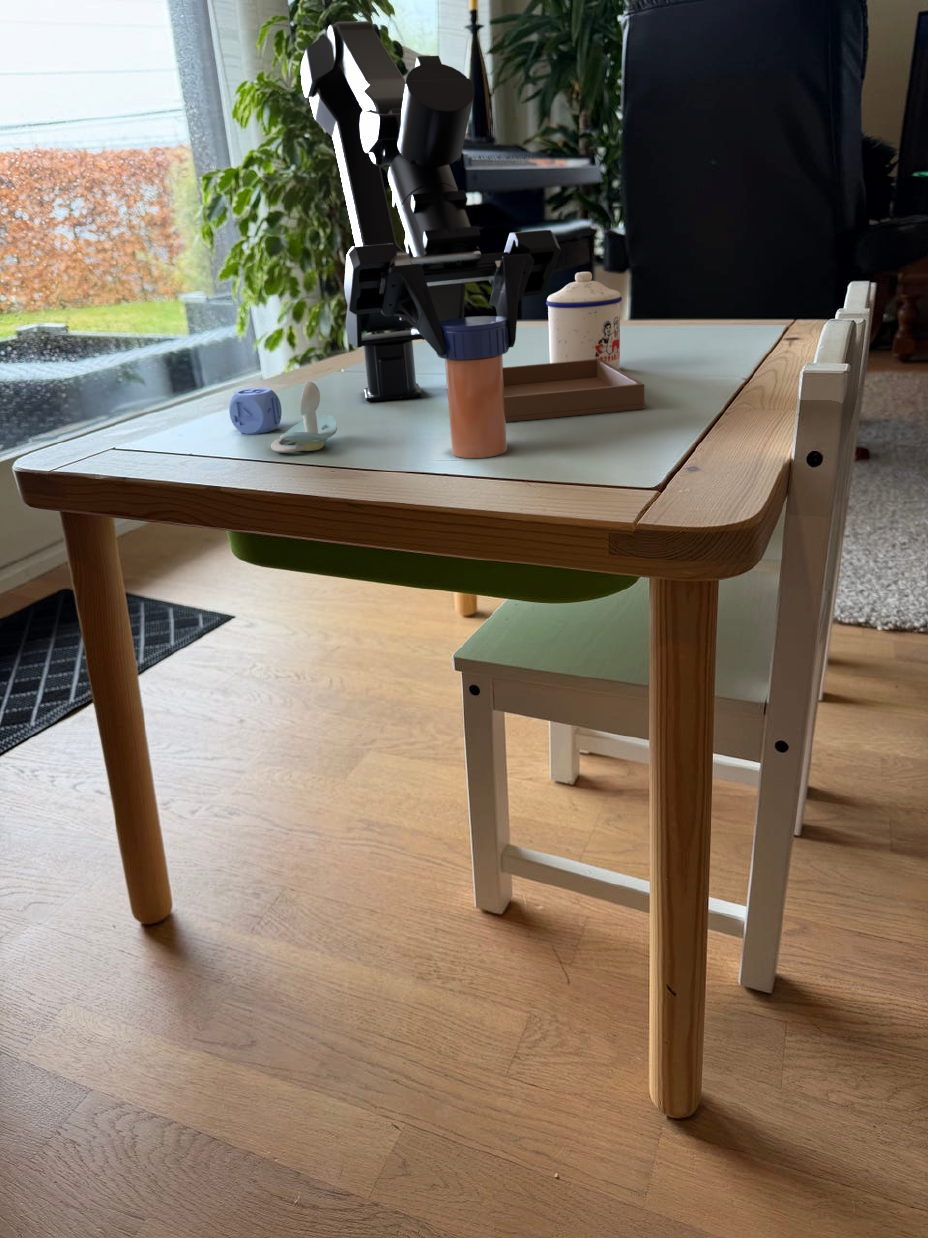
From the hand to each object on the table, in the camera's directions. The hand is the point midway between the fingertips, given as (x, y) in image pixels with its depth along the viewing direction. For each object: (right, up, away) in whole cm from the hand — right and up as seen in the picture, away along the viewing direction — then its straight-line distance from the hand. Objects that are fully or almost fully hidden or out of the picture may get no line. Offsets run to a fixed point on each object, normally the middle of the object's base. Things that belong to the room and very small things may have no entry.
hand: (478, 348), depth 81 cm
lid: (-1, +2, +1) cm, 2 cm away
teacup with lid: (+14, +8, +39) cm, 42 cm away
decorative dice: (-23, -3, +20) cm, 30 cm away
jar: (0, -8, +5) cm, 9 cm away
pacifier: (-17, -7, +11) cm, 21 cm away
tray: (+9, +1, +23) cm, 25 cm away
